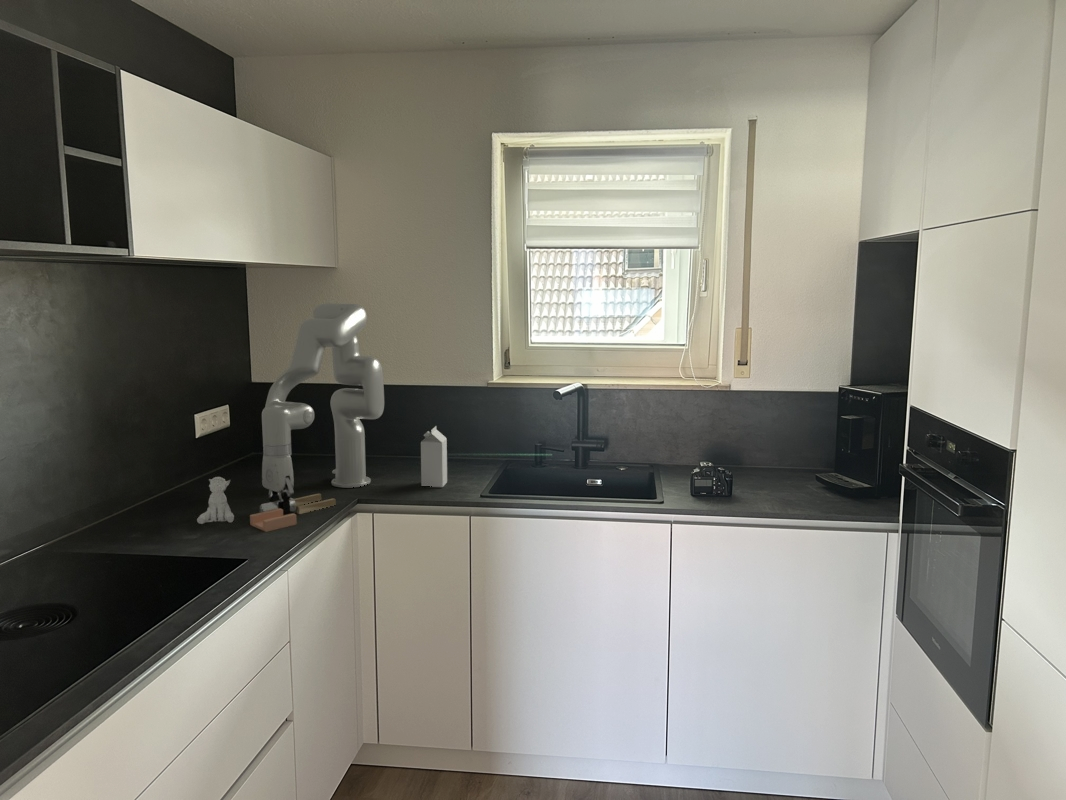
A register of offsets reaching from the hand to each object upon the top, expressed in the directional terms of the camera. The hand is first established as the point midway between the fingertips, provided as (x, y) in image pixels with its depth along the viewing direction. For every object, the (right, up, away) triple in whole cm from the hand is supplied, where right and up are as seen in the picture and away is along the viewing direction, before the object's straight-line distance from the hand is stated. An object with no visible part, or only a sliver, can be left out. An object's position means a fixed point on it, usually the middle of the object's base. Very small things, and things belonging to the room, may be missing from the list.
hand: (280, 511), depth 220 cm
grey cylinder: (0, +1, -1) cm, 1 cm away
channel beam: (+6, 0, +7) cm, 10 cm away
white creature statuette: (-16, -2, -5) cm, 17 cm away
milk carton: (+40, +4, +33) cm, 52 cm away
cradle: (+2, -2, -10) cm, 10 cm away
